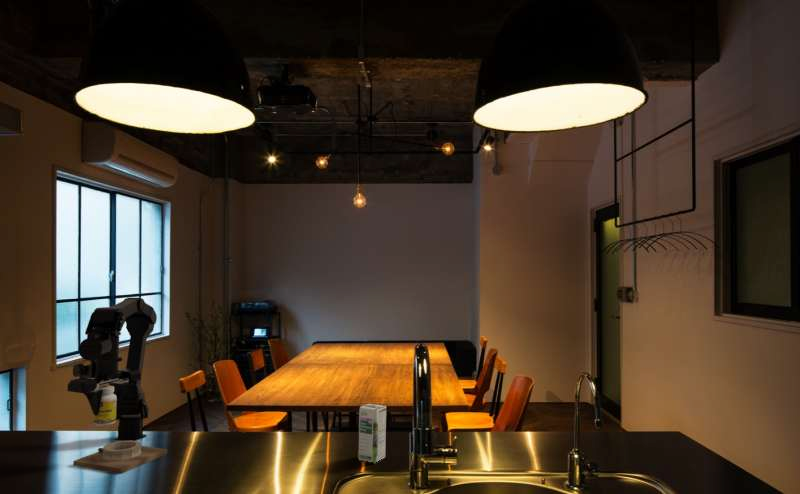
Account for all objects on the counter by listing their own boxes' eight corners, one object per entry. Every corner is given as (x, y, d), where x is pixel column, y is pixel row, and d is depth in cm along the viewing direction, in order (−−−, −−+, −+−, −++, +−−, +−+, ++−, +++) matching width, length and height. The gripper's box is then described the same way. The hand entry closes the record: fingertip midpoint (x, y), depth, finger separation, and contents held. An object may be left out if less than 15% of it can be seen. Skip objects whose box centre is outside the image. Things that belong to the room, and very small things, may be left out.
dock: (121, 447, 159) (122, 434, 159) (166, 453, 154) (167, 440, 154) (72, 465, 144) (73, 451, 144) (120, 473, 139) (121, 458, 139)
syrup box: (357, 460, 151) (358, 406, 151) (368, 454, 156) (369, 402, 156) (375, 464, 148) (376, 409, 148) (386, 457, 153) (386, 405, 154)
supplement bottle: (90, 427, 145) (91, 389, 145) (96, 421, 150) (97, 385, 151) (112, 425, 146) (114, 388, 147) (118, 420, 152) (119, 384, 152)
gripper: (113, 347, 161) (112, 401, 160) (53, 357, 143) (51, 417, 143) (143, 350, 156) (141, 405, 156) (84, 360, 139) (82, 422, 139)
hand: (105, 412), depth 148 cm, fingers closed on supplement bottle, 5 cm apart
